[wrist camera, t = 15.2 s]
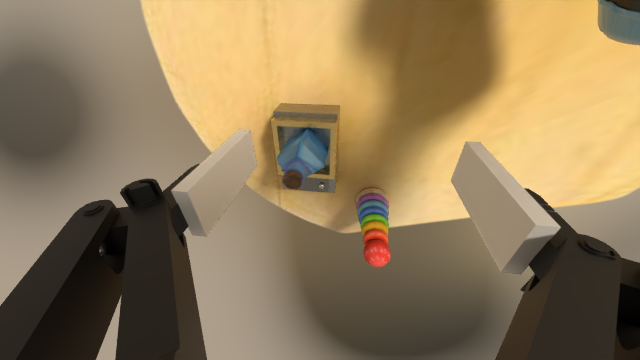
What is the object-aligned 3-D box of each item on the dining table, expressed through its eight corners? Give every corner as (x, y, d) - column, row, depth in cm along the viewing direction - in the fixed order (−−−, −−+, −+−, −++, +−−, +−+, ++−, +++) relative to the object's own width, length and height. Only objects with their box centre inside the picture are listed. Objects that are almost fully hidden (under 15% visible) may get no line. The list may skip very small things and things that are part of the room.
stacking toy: (361, 213, 61) (361, 278, 46) (351, 190, 57) (347, 253, 42) (391, 207, 58) (402, 273, 43) (383, 182, 54) (390, 246, 39)
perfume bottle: (308, 126, 44) (292, 157, 34) (328, 150, 46) (319, 185, 36) (285, 143, 46) (265, 176, 37) (305, 165, 49) (291, 201, 39)
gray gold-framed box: (281, 103, 47) (270, 115, 41) (339, 105, 45) (336, 118, 40) (288, 176, 57) (280, 193, 52) (336, 180, 56) (333, 198, 50)
